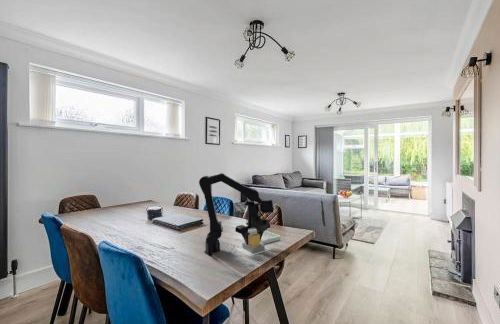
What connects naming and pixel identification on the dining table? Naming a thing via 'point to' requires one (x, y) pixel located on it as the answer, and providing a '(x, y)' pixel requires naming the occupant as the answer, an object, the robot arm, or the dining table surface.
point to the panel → (252, 249)
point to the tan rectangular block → (254, 239)
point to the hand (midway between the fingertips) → (253, 243)
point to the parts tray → (274, 236)
